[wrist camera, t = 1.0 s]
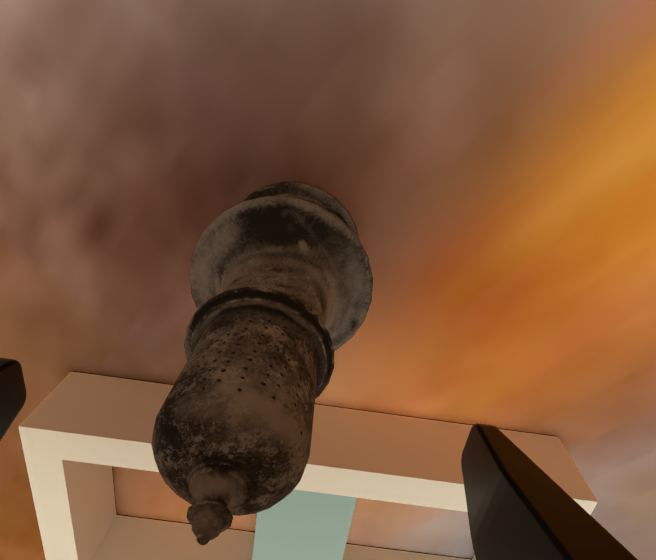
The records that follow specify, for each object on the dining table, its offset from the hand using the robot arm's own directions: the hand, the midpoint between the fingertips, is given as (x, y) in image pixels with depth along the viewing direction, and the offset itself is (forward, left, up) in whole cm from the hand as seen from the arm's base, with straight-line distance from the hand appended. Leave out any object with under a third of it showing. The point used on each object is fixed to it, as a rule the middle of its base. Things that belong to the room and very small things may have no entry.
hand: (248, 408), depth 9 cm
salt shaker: (0, 0, -10) cm, 10 cm away
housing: (-2, +13, -9) cm, 16 cm away
